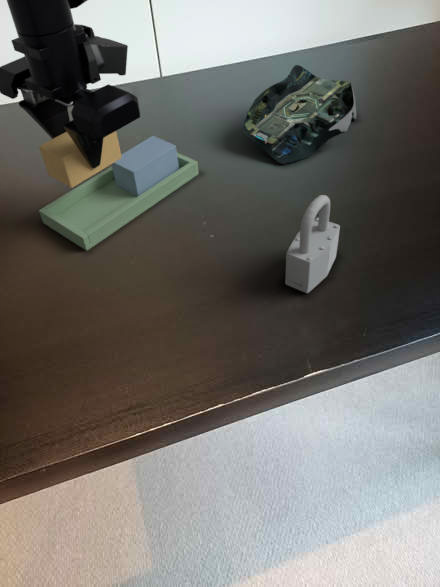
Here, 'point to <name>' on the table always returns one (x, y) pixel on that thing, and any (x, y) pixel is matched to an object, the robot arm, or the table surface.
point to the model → (300, 115)
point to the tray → (108, 205)
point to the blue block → (145, 165)
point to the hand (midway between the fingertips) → (83, 160)
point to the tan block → (76, 158)
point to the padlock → (312, 247)
